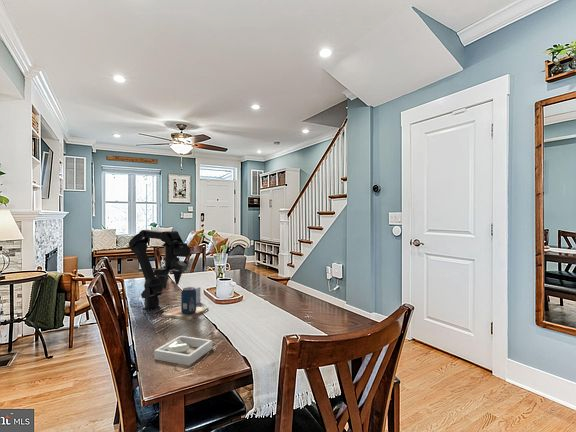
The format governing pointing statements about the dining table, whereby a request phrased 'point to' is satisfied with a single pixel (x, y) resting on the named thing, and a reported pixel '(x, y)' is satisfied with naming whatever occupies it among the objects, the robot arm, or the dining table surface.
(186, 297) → the soda can
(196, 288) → the medicine box
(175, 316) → the subfloor panel
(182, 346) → the pipe fitting
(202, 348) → the frame
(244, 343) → the dining table surface
